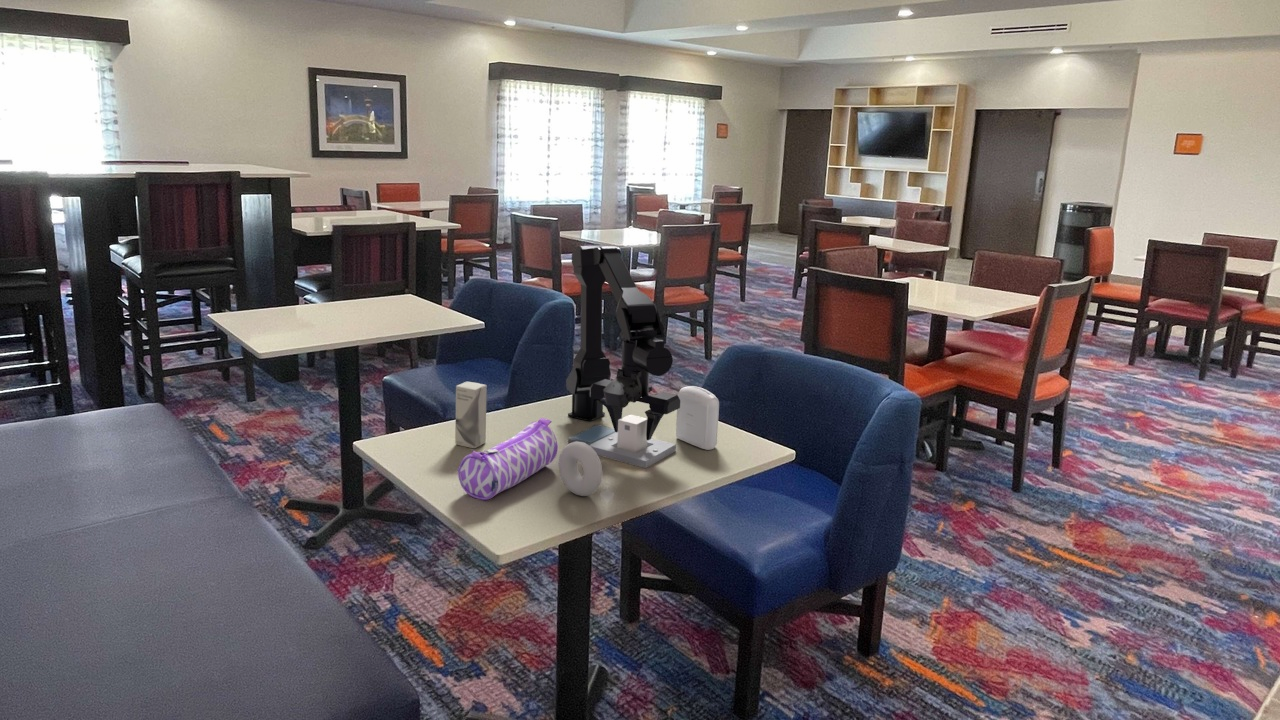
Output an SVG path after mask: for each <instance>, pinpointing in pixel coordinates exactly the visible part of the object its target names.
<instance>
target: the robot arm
mask: <svg viewBox="0 0 1280 720" xmlns="http://www.w3.org/2000/svg"><path fill="white" fill-rule="evenodd" d="M571 265H572V267H573V274H574V275H575V276H574V277H576V279H577V281H578V283H579V284H580V347H579V348H580V349H579V350H578V351H577V354H576V355H575V356H574V358H573V362H572V369H571V371H570V373H569V374H568V376H567V378H566V379H565V383H566V384H565V386H566V390H567V391H569V392H570V393H571V411H570V412H569V413H567V416H568V417H571V418H574V419H578V420H583V421H587V422H592V421H594V420H596V419H599V418H601V417H603V416H605V415H606V412H604V411H603V409H604V407H605V408H606V410H607V413H608V415H609V417H610V420H611V424H612V426H613V427H612V428H613V429H614V430H615V432H618V420H619V419H621V418H623V408H626V407H628V405H629V403H636V402H640V403H644V404H647V405H649V409H648V410H645V411H644V413H645V416H646V417H647V430H646V438H647V440H650V439H651V438H653V435H654V433H655V431H656V429H657V428H658V426H659V423H660V421H661V420H662V418H663V417H664V415H668V414H671V413H672V412H673V413H674V412H675V411H677V409H679V408H680V398H679V397H678V394H674V393H671V392H666V391H662V392H660V393H657V394H650V392H652V391H653V386H651V385H650V375H652V376H654V377H660V376H664V375H665V374H667V373H668V372H669V371H670V369H671V368H672V365H673V362H674V361H673V360H674V359H673V355H672V353H671V351H670V349H668V348H667V347H665V340H663V339H664V338H665V332H664V331H665V327H664V325H663V322H662V319H661V317H660V314H659V310H658V308H657V307H656V304H655V303H654V302H653V301H652V299H651V298H650V296H649V295H647V294H646V293H645V292H643V291H641V290H639V288H638V286H637V285H636V283H635V281H634V279H633V277H632V275H631V273H630V271H629V270H628V267H627V266H626V264H625V262H624V259H623V258H622V251H621V249H620V247H619V246H616V245H578V246H577V247H576V249H575V250H574V251H572V253H571ZM606 282H607V284H608V287H609V288H610V291H611V292H612V293H611V294H612V295H613V297H614V299H615V301H616V303H617V307H616V310H615V316H616V321H617V324H618V326H619V328H620V330H621V331H620V332H619V337H620V338H622V345H621V346H622V347H621V367H618V368H617V371H616V376H615V379H612V380H611V376H612V373H611V369H610V365H611V363H610V362H611V361H610V359H609V358H608V357H607V356H606V354H605V353H604V351H603V344H602V343H603V341H602V340H603V287H604V284H605V283H606Z"/></svg>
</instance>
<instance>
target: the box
mask: <svg viewBox="0 0 1280 720" xmlns="http://www.w3.org/2000/svg"><path fill="white" fill-rule="evenodd" d="M487 388H488V387H487V384H483V383H479V382H473V381H464V382H462V383H460V384H457V385H455V431H454V432H455V434H454V435H455V437H454V438H455V442H454V444H455V445H458V446H461V447H466V448H471V449H476V448H478V447H480V446H482V445H484V444H485V443H486V438H487V437H486V436H487V435H486V434H487V433H486V432H487Z"/></svg>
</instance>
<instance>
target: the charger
mask: <svg viewBox="0 0 1280 720" xmlns="http://www.w3.org/2000/svg"><path fill="white" fill-rule="evenodd" d="M646 430H647V418H646V417H644V416H643V417H642V416H638V415H635V414H628V415H626V416H624V417H623V416H622V418H621V419H619V420H618V440H617V448H621V449H625V450H628V451H632V452H636V453H638V452H640V451H642V450H644V449H646V448H647V438H646Z"/></svg>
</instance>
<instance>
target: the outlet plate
mask: <svg viewBox="0 0 1280 720" xmlns="http://www.w3.org/2000/svg"><path fill="white" fill-rule="evenodd" d="M617 440H618V432H615V433H613V434H611V435H609V436H607V437H605V438H603V439H601V440H599V441H597V442H595V443H593V444H590V445H589V446H591V447H592V448H593V449H594V451H595V452H596V453H597V455H598V457H604V458H608V459H611V460H614V461H618V462H621V463H625V464H629V465H633V466H636V467H640V468H642V469H643V468H644V469H647V468H649V467H650V466H652V465H654V464H655V463H658V462H660V461H661V460H662V459H665V458H667V456H670V455H671V454H674V453H675V452H676V451H677V444H676V443H672V442H669V441H665V440H660V439H658V438H657V439H656V438H653V437H652V438H651V439H650V440H647V448H646V449H644V450H642V451H640V452H638V453H636V452H632V451H628V450H625V449H621V448H617Z"/></svg>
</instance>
